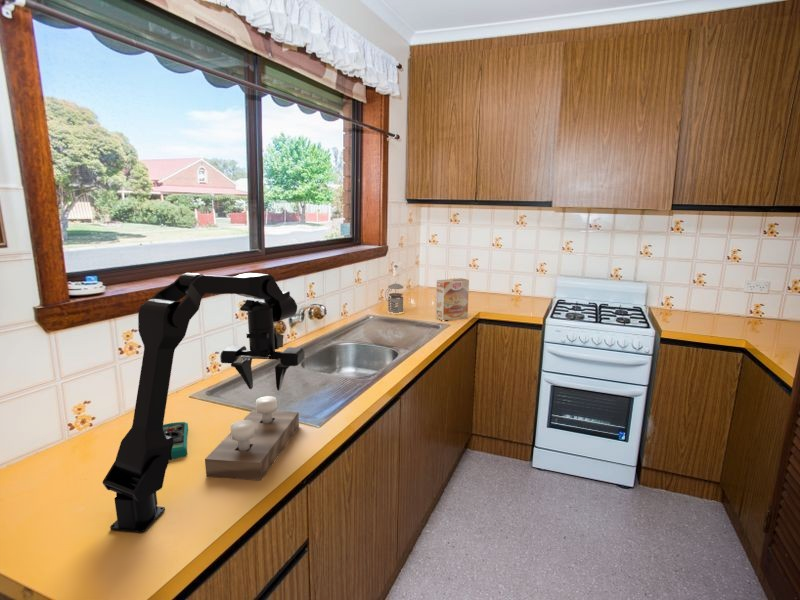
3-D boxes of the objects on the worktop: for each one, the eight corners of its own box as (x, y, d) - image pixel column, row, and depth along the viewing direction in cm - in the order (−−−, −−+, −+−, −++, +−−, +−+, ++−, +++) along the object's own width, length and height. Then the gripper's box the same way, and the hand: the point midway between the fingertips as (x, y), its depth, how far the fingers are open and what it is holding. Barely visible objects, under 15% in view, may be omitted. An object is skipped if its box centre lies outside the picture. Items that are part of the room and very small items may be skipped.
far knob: (273, 430, 113) (271, 404, 111) (254, 429, 113) (252, 403, 112) (280, 421, 117) (279, 396, 116) (262, 420, 118) (260, 395, 116)
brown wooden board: (261, 480, 97) (260, 462, 96) (206, 476, 98) (204, 458, 98) (299, 426, 120) (298, 412, 120) (254, 423, 122) (253, 409, 121)
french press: (396, 315, 239) (396, 266, 234) (380, 312, 247) (379, 264, 242) (408, 312, 246) (409, 265, 241) (392, 309, 254) (392, 263, 249)
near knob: (250, 459, 100) (248, 430, 99) (228, 457, 100) (226, 429, 99) (259, 447, 105) (257, 420, 103) (238, 446, 105) (236, 419, 104)
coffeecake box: (443, 321, 227) (444, 282, 223) (435, 318, 233) (435, 279, 229) (468, 318, 234) (469, 279, 230) (459, 315, 240) (460, 277, 236)
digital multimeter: (188, 429, 120) (187, 419, 119) (187, 458, 106) (186, 446, 106) (156, 435, 117) (155, 424, 116) (151, 465, 103) (149, 453, 103)
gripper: (310, 319, 117) (312, 378, 120) (238, 317, 119) (242, 375, 122) (295, 331, 106) (298, 396, 109) (216, 328, 108) (221, 392, 111)
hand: (264, 389), depth 113 cm, fingers open, 7 cm apart
